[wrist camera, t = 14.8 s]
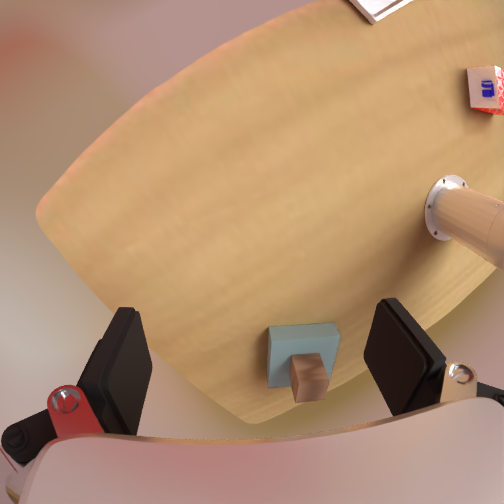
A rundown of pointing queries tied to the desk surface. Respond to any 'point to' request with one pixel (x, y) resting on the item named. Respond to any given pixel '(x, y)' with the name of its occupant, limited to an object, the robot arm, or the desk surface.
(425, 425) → the robot arm
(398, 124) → the desk surface
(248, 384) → the desk surface
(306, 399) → the walnut block
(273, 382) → the plinth
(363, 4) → the file sorter
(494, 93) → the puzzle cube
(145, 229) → the desk surface
